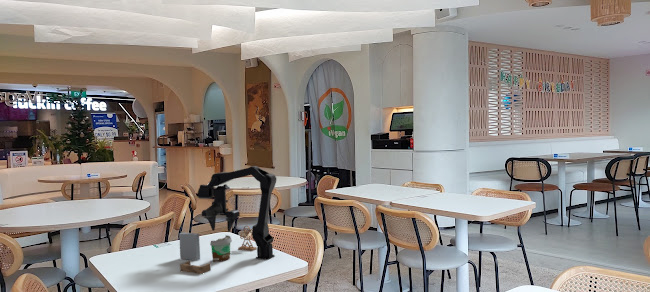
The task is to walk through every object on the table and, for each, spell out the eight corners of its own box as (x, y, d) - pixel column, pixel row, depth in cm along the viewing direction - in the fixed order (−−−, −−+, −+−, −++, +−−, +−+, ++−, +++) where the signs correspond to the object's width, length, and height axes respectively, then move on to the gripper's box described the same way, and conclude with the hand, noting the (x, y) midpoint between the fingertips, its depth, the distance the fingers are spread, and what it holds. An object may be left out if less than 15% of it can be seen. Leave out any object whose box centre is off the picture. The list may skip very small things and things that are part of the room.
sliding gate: (200, 259, 216) (199, 233, 216) (196, 260, 214) (195, 234, 214) (183, 257, 220) (182, 232, 220) (180, 258, 218) (179, 233, 218)
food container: (221, 263, 208) (221, 241, 208) (210, 262, 210) (210, 240, 210) (237, 256, 219) (236, 235, 219) (227, 255, 222) (226, 235, 221)
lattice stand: (238, 249, 232) (237, 226, 232) (242, 247, 236) (241, 224, 236) (252, 251, 229) (251, 227, 228) (257, 249, 232) (256, 225, 232)
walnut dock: (210, 270, 198) (210, 263, 198) (202, 274, 193) (201, 267, 193) (188, 267, 203) (188, 261, 203) (180, 271, 198) (179, 264, 198)
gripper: (193, 200, 217) (194, 233, 218) (225, 202, 209) (226, 236, 210) (208, 197, 227) (209, 228, 228) (239, 198, 220) (241, 230, 220)
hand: (221, 231), depth 221 cm, fingers open, 9 cm apart
